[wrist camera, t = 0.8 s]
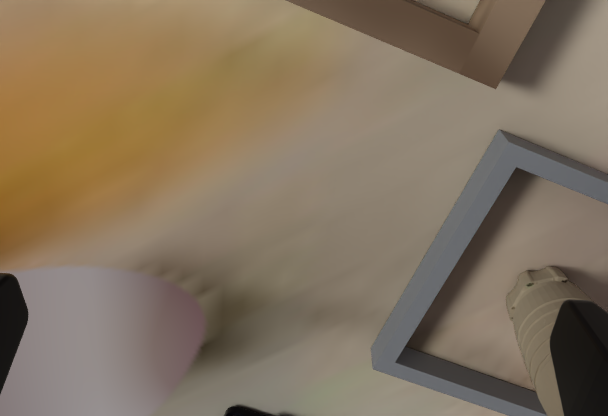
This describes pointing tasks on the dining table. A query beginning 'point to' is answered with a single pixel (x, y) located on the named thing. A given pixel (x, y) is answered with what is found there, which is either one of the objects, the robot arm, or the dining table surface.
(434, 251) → the frame
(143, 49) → the dining table surface
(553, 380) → the handle
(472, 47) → the socket stand
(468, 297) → the dining table surface
